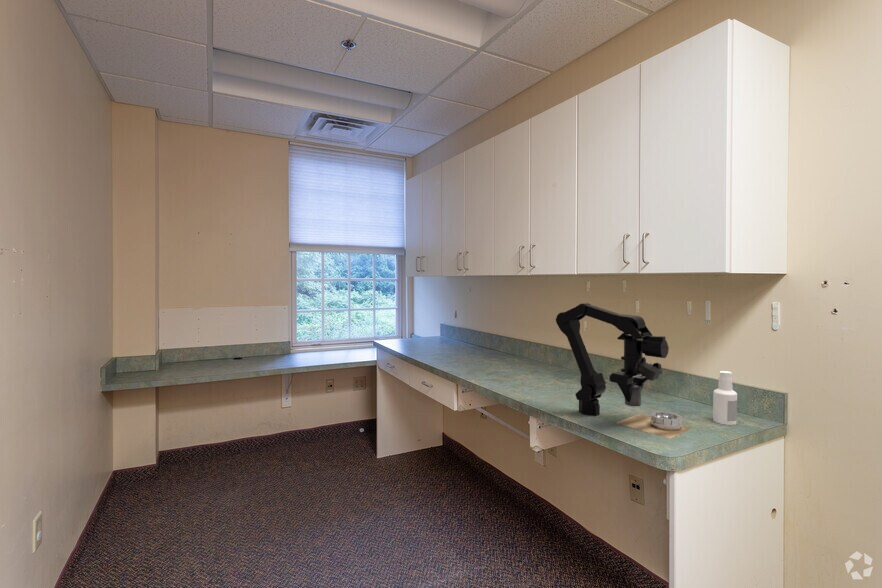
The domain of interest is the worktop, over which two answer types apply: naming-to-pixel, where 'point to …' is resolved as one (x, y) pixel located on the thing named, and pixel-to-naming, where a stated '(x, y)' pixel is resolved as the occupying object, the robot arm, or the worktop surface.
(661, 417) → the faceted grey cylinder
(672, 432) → the board
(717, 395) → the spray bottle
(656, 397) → the worktop surface
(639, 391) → the cap
